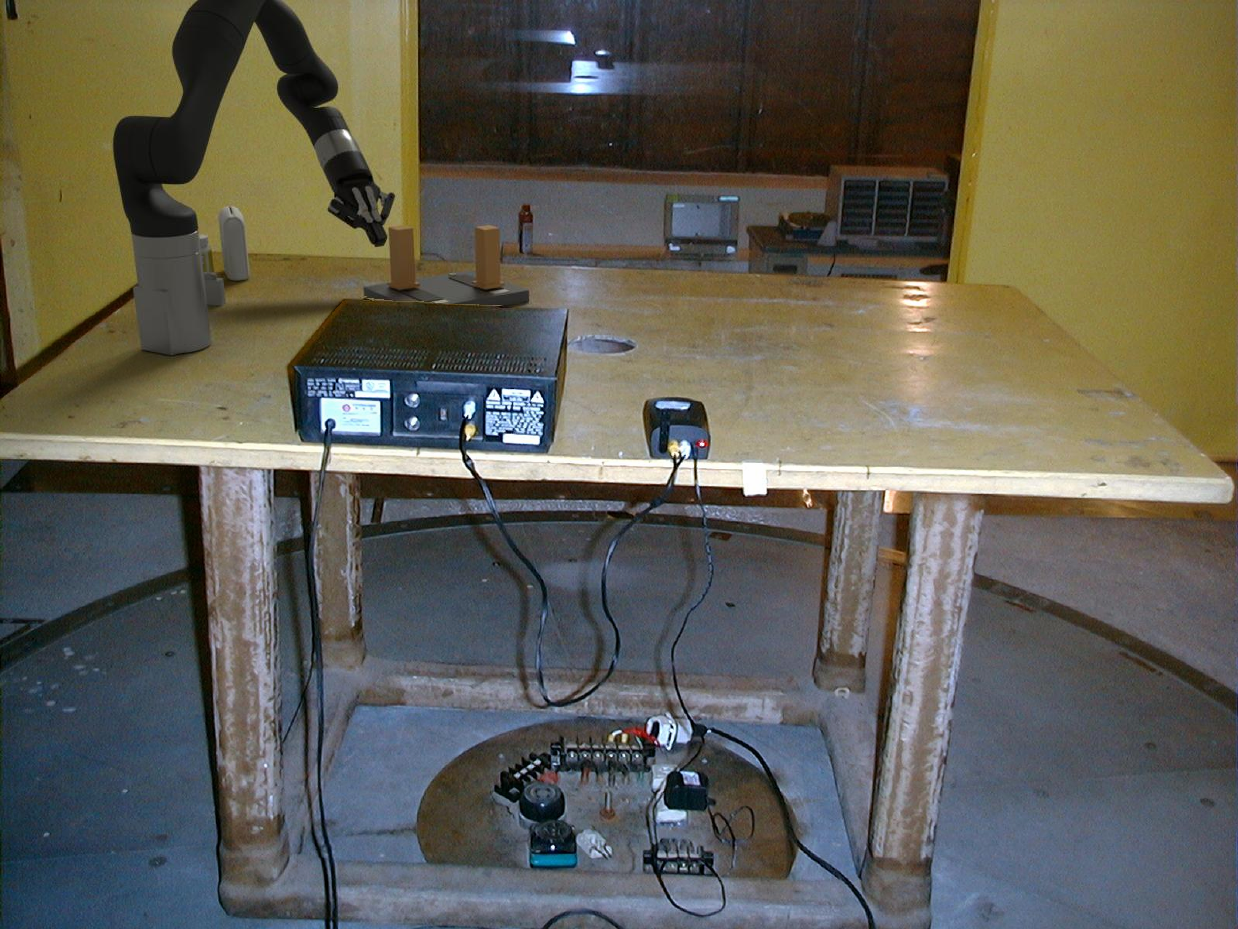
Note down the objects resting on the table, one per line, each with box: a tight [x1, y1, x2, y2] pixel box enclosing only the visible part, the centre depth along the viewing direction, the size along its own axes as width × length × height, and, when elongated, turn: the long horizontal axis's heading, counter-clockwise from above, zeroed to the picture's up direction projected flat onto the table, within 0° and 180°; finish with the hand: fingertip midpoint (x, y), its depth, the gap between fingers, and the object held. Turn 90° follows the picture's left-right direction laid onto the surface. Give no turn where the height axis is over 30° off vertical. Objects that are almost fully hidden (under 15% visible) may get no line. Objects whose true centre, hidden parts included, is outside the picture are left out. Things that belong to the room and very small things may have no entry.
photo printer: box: [217, 205, 251, 281], centre depth 221 cm, size 10×4×12 cm, turn 21°
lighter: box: [203, 272, 226, 307], centre depth 203 cm, size 7×2×8 cm, turn 83°
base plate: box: [362, 269, 530, 306], centre depth 209 cm, size 22×18×2 cm
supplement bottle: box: [199, 233, 215, 273], centre depth 216 cm, size 5×5×8 cm
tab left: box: [387, 224, 420, 290], centre depth 206 cm, size 4×4×10 cm
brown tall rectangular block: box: [472, 224, 505, 289], centre depth 208 cm, size 4×4×10 cm
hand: (381, 243), depth 211 cm, fingers closed
